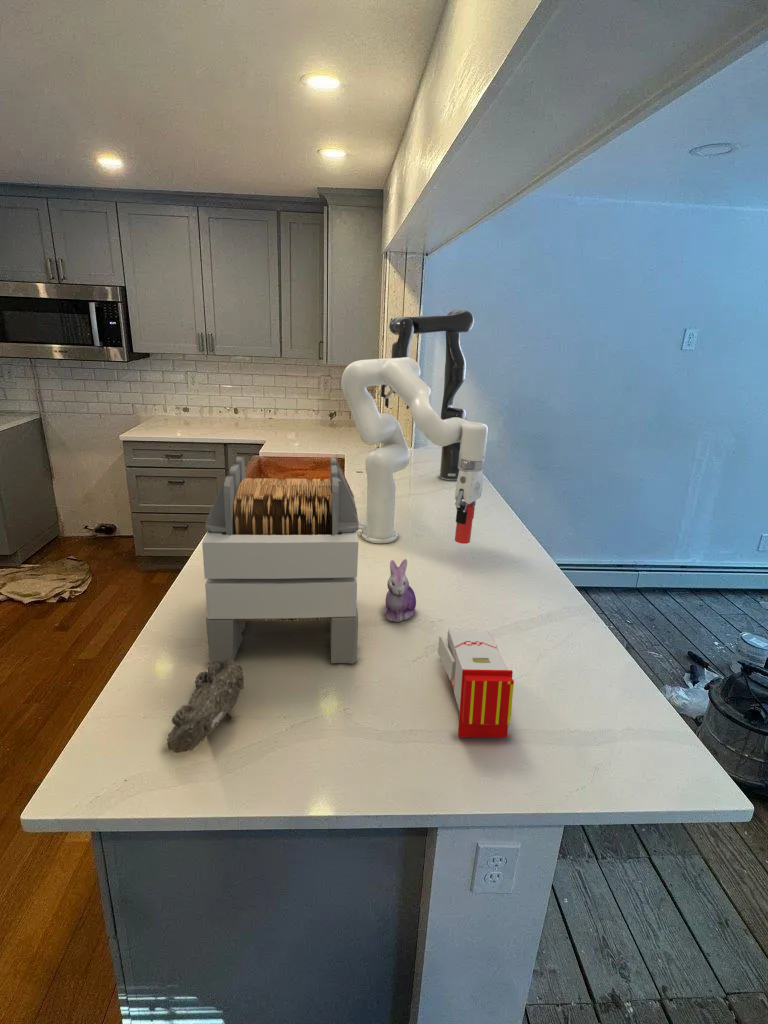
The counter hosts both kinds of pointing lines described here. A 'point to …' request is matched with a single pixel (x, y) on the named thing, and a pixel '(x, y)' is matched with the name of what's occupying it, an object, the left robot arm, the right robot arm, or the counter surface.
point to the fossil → (206, 705)
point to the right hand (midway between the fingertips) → (397, 408)
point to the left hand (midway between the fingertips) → (464, 520)
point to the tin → (465, 526)
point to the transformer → (281, 558)
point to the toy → (478, 682)
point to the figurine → (399, 594)
